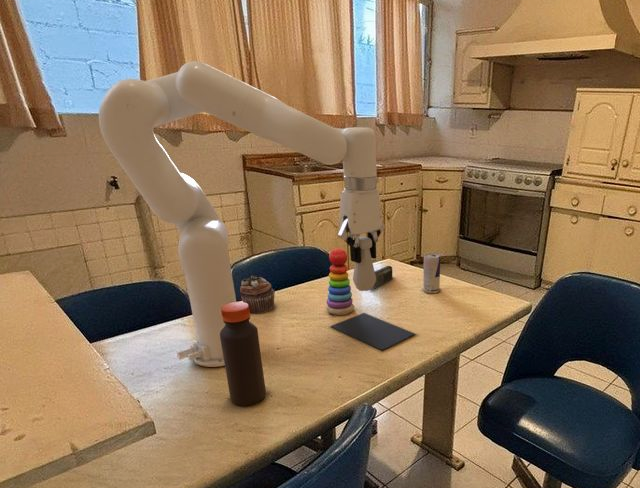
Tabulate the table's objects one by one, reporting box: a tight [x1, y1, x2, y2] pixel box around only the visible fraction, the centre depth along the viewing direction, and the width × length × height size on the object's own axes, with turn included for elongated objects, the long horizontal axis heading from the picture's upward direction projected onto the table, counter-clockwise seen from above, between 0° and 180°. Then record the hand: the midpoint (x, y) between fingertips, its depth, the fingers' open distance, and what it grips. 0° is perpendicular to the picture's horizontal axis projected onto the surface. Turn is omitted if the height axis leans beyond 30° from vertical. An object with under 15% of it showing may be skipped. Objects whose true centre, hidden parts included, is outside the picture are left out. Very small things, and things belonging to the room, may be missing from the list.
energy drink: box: [422, 253, 441, 294], centre depth 148 cm, size 5×5×12 cm
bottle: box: [220, 301, 267, 407], centre depth 89 cm, size 7×7×20 cm
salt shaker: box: [352, 236, 376, 292], centre depth 113 cm, size 6×6×13 cm
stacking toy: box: [325, 247, 355, 316], centre depth 130 cm, size 8×8×19 cm
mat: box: [330, 312, 416, 352], centre depth 121 cm, size 12×20×1 cm, turn 49°
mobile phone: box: [371, 265, 393, 291], centre depth 155 cm, size 5×3×15 cm
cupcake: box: [239, 274, 276, 314], centre depth 133 cm, size 10×10×10 cm
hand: (363, 258), depth 112 cm, fingers closed on salt shaker, 4 cm apart
